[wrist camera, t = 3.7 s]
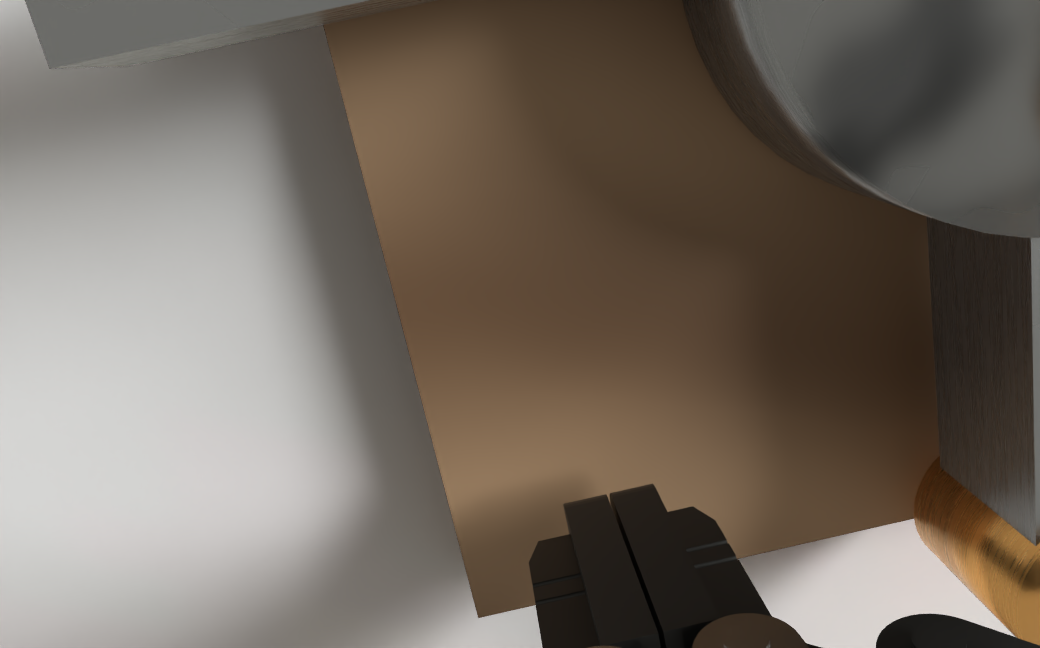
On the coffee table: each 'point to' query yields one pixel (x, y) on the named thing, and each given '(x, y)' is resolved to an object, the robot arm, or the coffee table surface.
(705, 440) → the stand board
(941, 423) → the spoked handwheel
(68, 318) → the coffee table surface
